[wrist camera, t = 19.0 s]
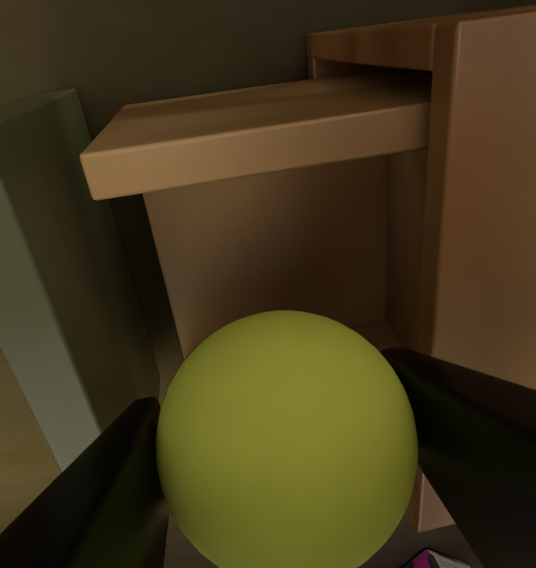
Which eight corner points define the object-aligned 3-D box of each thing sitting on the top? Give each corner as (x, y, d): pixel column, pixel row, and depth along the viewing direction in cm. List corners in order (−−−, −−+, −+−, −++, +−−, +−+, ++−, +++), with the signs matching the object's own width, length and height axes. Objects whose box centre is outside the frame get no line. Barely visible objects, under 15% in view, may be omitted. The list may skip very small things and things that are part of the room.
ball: (227, 461, 11) (252, 683, 7) (116, 336, 9) (68, 555, 5) (389, 379, 11) (505, 566, 7) (313, 229, 9) (420, 377, 5)
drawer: (99, 388, 18) (56, 573, 12) (-11, 99, 13) (-195, 152, 7) (392, 330, 19) (495, 470, 13) (398, 44, 14) (577, 44, 8)
